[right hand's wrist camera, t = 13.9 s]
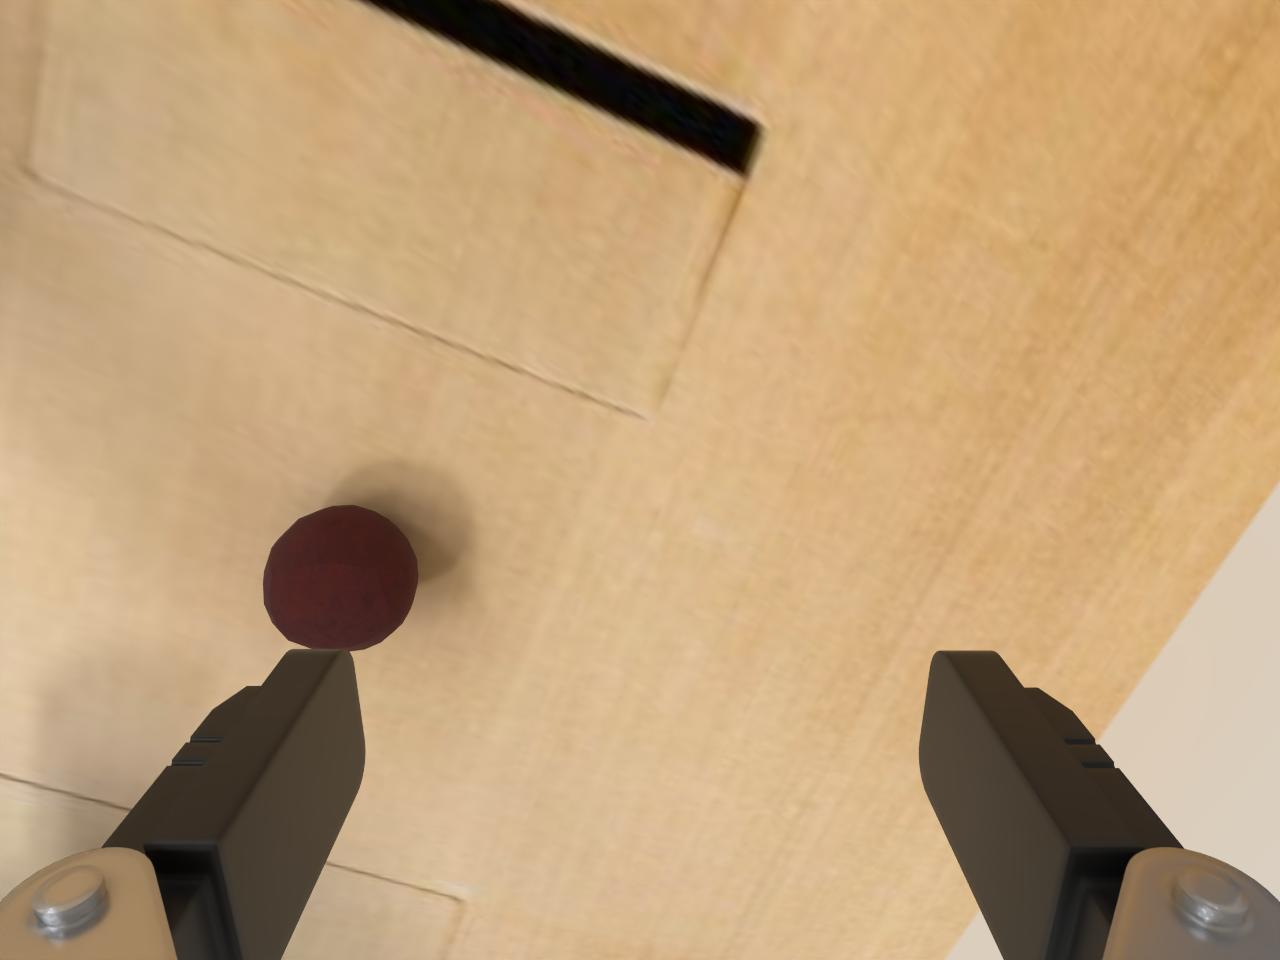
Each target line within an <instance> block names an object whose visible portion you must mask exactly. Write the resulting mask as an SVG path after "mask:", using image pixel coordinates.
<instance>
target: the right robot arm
mask: <svg viewBox="0 0 1280 960" xmlns="http://www.w3.org/2000/svg"><path fill="white" fill-rule="evenodd" d="M364 765H365V739H364V732H363V725H362V718H361V710H360V703H359V696H358V689H357V682H356V675H355V667H354V662H353V658H352V656H351V654H350V652H349V651H348V650H346V649H292V650H289V651H288V652H287V653H286V654H285V655H284V656H283V657H282V659H281V660H280V661H279V663H278V664H277V665H276V667H275V668H274V670H273V671H272V672H271V674H270V675H269V676H268V678H267V679H266V680H265V682H264V683H263V684H262V686H246V687H245V688H244V689H242V690H241V691H239V692H238V693H236V694H235V695H233V696H232V697H230V698H229V699H227V700H226V701H224V702H223V703H222V704H220V705H219V706H217V707H216V708H214V709H213V710H212V711H211V712H210V714H209V715H208V716H207V717H206V718H205V720H204V721H203V722H202V723H201V725H200V726H199V727H198V728H197V730H196V731H195V732H194V733H193V735H192V736H191V740H190V743H185V745H184V746H183V747H182V748H181V749H180V751H179V752H178V753H177V754H176V756H175V757H174V758H173V759H172V765H171V766H167V767H166V768H165V769H164V771H163V772H162V773H161V774H160V776H159V777H158V778H157V779H156V780H155V782H154V783H153V784H152V785H151V787H150V788H149V789H148V790H147V792H146V793H145V794H144V795H143V797H142V798H141V799H140V800H139V802H138V803H137V804H136V805H135V807H134V808H133V809H132V810H131V811H130V813H129V814H128V815H127V816H126V818H125V819H124V820H123V821H122V823H121V824H120V825H119V826H118V828H117V829H116V830H115V831H114V833H113V834H112V835H111V836H110V838H109V839H108V840H107V841H106V843H105V844H104V845H103V846H102V847H101V848H100V849H93V850H89V851H85V852H81V853H78V854H75V855H72V856H69V857H67V858H64V859H62V860H60V861H57V862H55V863H53V864H51V865H49V866H47V867H45V868H44V869H42V870H40V871H38V872H37V873H35V874H33V875H32V876H30V877H29V878H27V879H26V880H24V881H23V882H22V883H21V884H19V885H18V886H17V887H15V888H14V889H13V890H12V891H11V892H10V893H9V894H8V895H7V896H6V897H5V898H4V899H3V900H2V901H1V902H0V960H281V958H282V956H283V953H284V951H285V949H286V947H287V945H288V943H289V940H290V938H291V936H292V934H293V932H294V930H295V927H296V925H297V923H298V921H299V919H300V916H301V914H302V912H303V910H304V908H305V906H306V903H307V901H308V899H309V897H310V895H311V893H312V890H313V888H314V886H315V884H316V882H317V880H318V877H319V875H320V873H321V871H322V869H323V867H324V864H325V862H326V860H327V858H328V856H329V854H330V851H331V849H332V847H333V845H334V843H335V841H336V838H337V836H338V834H339V832H340V830H341V827H342V825H343V823H344V821H345V819H346V817H347V814H348V812H349V810H350V808H351V806H352V804H353V801H354V799H355V797H356V795H357V793H358V790H359V788H360V784H361V781H362V777H363V772H364ZM919 765H920V772H921V777H922V782H923V785H924V789H925V791H926V794H927V796H928V798H929V800H930V802H931V805H932V807H933V809H934V811H935V813H936V815H937V817H938V820H939V822H940V824H941V826H942V828H943V830H944V832H945V835H946V837H947V839H948V841H949V843H950V845H951V847H952V850H953V852H954V854H955V856H956V858H957V860H958V863H959V865H960V867H961V869H962V871H963V873H964V875H965V878H966V880H967V882H968V884H969V886H970V888H971V890H972V893H973V895H974V897H975V899H976V901H977V903H978V905H979V908H980V910H981V912H982V914H983V916H984V918H985V920H986V923H987V925H988V927H989V929H990V931H991V933H992V935H993V938H994V940H995V942H996V944H997V946H998V948H999V950H1000V952H1001V955H1002V957H1003V959H1004V960H1280V902H1279V901H1278V900H1277V899H1276V898H1275V897H1274V896H1273V895H1272V894H1271V893H1270V892H1269V891H1268V890H1267V889H1266V888H1264V887H1263V886H1262V885H1261V884H1259V883H1258V882H1257V881H1256V880H1254V879H1253V878H1251V877H1250V876H1248V875H1247V874H1245V873H1243V872H1242V871H1240V870H1238V869H1236V868H1235V867H1233V866H1231V865H1229V864H1227V863H1225V862H1223V861H1220V860H1218V859H1216V858H1213V857H1211V856H1208V855H1205V854H1202V853H1198V852H1195V851H1191V850H1187V849H1184V848H1183V846H1182V845H1181V844H1180V843H1179V841H1178V840H1177V839H1176V838H1175V837H1174V835H1173V834H1172V833H1171V832H1170V830H1169V829H1168V828H1167V827H1166V826H1165V824H1164V823H1163V822H1162V821H1161V819H1160V818H1159V817H1158V816H1157V814H1156V813H1155V812H1154V811H1153V810H1152V808H1151V807H1150V806H1149V805H1148V803H1147V802H1146V801H1145V800H1144V798H1143V797H1142V796H1141V795H1140V794H1139V792H1138V791H1137V790H1136V789H1135V787H1134V786H1133V785H1132V784H1131V783H1130V781H1129V780H1128V779H1127V778H1126V776H1125V775H1124V774H1123V773H1122V771H1121V770H1120V769H1119V768H1115V767H1114V762H1113V760H1112V759H1111V758H1110V757H1109V755H1108V754H1107V753H1106V752H1105V750H1104V749H1103V748H1102V747H1101V746H1100V745H1096V743H1095V738H1094V737H1093V736H1092V735H1091V733H1090V732H1089V731H1088V730H1087V728H1086V727H1085V726H1084V725H1083V723H1082V722H1081V721H1080V720H1079V719H1078V717H1077V716H1076V715H1075V714H1074V712H1073V711H1071V710H1070V709H1068V708H1067V707H1066V706H1064V705H1063V704H1061V703H1060V702H1058V701H1057V700H1055V699H1054V698H1052V697H1051V696H1049V695H1048V694H1046V693H1045V692H1043V691H1042V690H1041V689H1039V688H1024V687H1023V686H1022V684H1021V683H1020V682H1019V680H1018V679H1017V678H1016V676H1015V675H1014V674H1013V672H1012V671H1011V670H1010V668H1009V667H1008V666H1007V664H1006V663H1005V662H1004V660H1003V659H1002V658H1001V657H1000V655H999V654H998V653H996V652H995V651H937V652H936V653H935V654H934V656H933V658H932V661H931V665H930V672H929V679H928V686H927V693H926V700H925V707H924V714H923V721H922V728H921V735H920V742H919Z"/></svg>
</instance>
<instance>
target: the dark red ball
mask: <svg viewBox="0 0 1280 960" xmlns="http://www.w3.org/2000/svg"><path fill="white" fill-rule="evenodd" d="M417 583H418V568H417V559H416V556H415V554H414V552H413V549H412V547H411V545H410V543H409V541H408V540H407V538H406V537H405V536H404V535H403V533H402V532H401V531H400V530H399V529H398V528H397V527H396V526H395V525H394V524H393V523H392V522H391V521H389V520H388V519H386V518H385V517H383V516H381V515H380V514H378V513H376V512H374V511H371V510H368V509H365V508H361V507H358V506H355V505H344V506H331V507H328V508H324V509H322V510H319V511H317V512H314V513H312V514H310V515H307V516H305V517H302V518H300V519H298V520H297V521H296V522H295V523H294V524H293V525H292V526H291V527H290V528H289V529H288V530H287V531H286V532H285V533H284V534H283V535H282V536H281V537H280V538H279V539H278V540H277V542H276V543H275V544H274V546H273V547H272V548H271V551H270V555H269V558H268V561H267V564H266V567H265V570H264V579H263V592H264V605H265V607H266V609H267V612H268V614H269V616H270V619H271V621H272V623H273V624H274V625H275V626H276V628H277V629H278V630H279V631H280V632H281V633H282V634H283V635H284V636H285V637H286V638H287V639H288V640H289V641H292V642H294V643H297V644H300V645H303V646H306V647H308V648H311V649H346V650H348V651H356V650H363V649H367V648H369V647H371V646H373V645H376V644H378V643H380V642H382V641H383V640H384V639H385V638H387V637H388V636H389V635H390V634H391V633H393V632H394V631H395V630H396V629H397V628H398V627H399V626H400V625H401V624H402V623H403V622H404V620H405V618H406V616H407V614H408V613H409V611H410V609H411V606H412V603H413V600H414V596H415V592H416V587H417Z"/></svg>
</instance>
